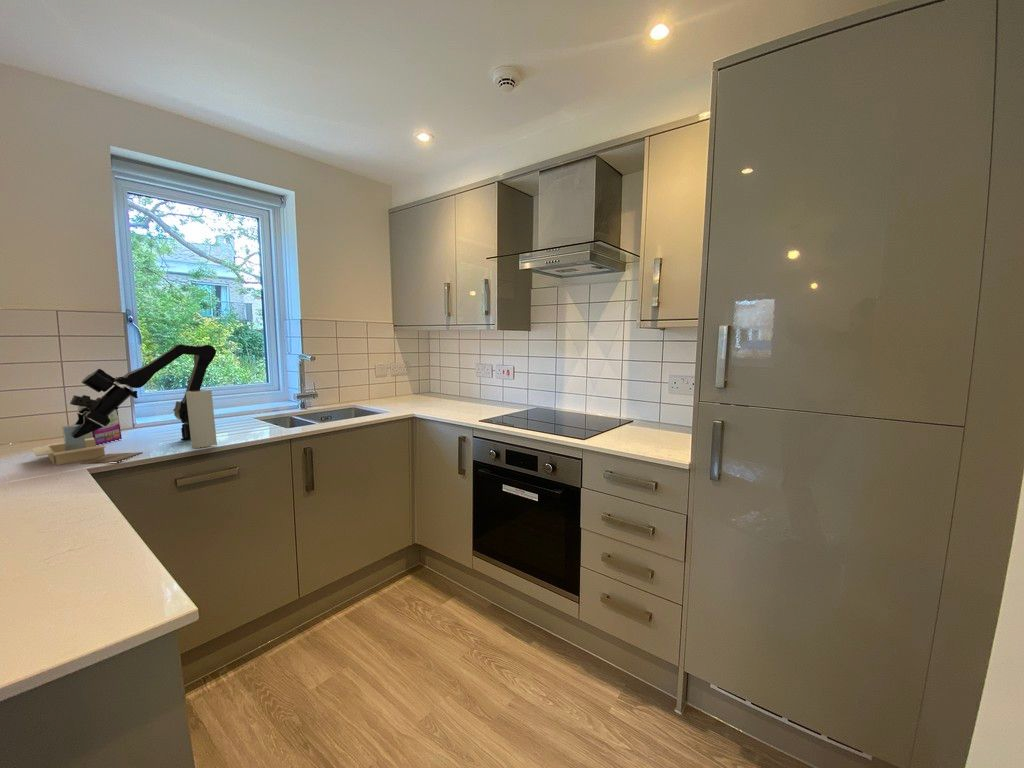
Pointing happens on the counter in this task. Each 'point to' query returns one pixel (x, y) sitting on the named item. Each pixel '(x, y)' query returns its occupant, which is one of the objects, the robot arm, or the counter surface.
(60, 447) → the carton
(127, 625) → the counter surface
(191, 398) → the tall white block
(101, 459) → the board
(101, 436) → the candy bar box
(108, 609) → the counter surface
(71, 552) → the counter surface
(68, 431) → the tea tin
